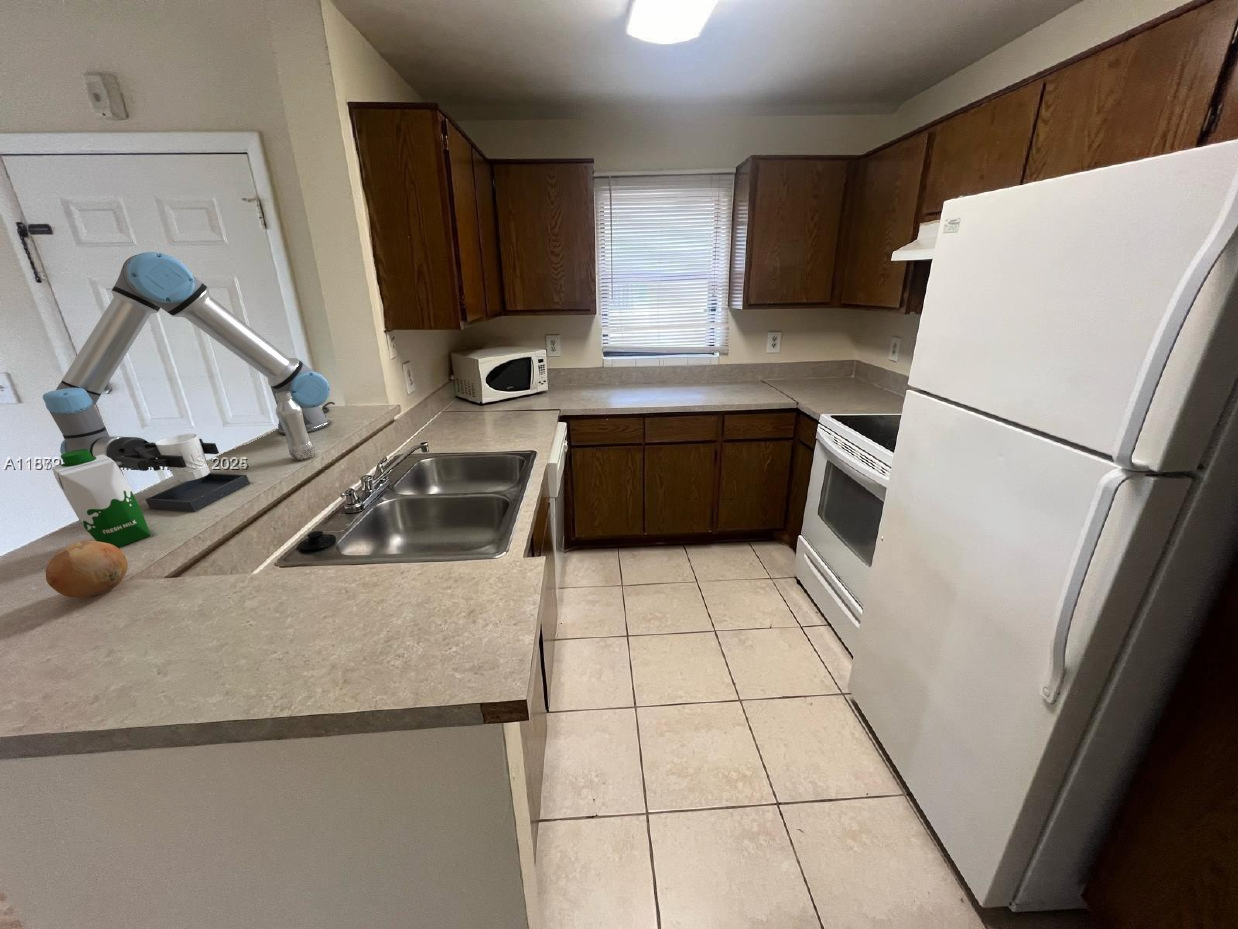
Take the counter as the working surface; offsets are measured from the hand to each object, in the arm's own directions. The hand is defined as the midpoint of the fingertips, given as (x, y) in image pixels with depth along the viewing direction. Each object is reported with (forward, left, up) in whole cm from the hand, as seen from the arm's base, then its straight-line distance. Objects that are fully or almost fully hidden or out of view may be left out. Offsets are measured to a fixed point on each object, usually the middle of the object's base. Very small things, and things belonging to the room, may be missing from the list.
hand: (199, 455), depth 115 cm
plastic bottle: (-25, +3, -12) cm, 28 cm away
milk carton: (+20, -2, -12) cm, 23 cm away
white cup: (0, -5, -6) cm, 8 cm away
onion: (+35, +14, -12) cm, 39 cm away
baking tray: (0, -5, -11) cm, 12 cm away
